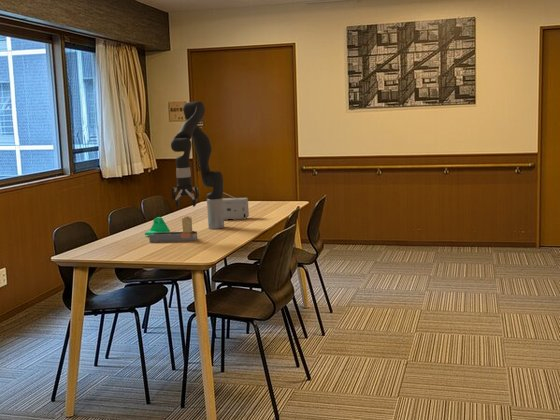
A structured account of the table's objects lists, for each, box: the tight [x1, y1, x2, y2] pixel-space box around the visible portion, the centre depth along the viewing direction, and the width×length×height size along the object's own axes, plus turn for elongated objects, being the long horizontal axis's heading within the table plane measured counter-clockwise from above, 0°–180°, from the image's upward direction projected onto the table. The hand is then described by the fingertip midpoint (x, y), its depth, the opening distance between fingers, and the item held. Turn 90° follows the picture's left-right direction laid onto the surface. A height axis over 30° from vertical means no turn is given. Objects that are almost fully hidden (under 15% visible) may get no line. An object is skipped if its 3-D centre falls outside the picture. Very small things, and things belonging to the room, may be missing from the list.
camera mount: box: [144, 216, 171, 236], centre depth 377 cm, size 12×8×10 cm, turn 70°
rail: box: [148, 230, 198, 243], centre depth 359 cm, size 8×24×4 cm, turn 81°
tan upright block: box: [181, 215, 193, 234], centre depth 357 cm, size 4×4×11 cm
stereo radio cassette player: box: [223, 191, 250, 221], centre depth 424 cm, size 21×8×20 cm, turn 84°
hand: (186, 206), depth 356 cm, fingers open, 8 cm apart
